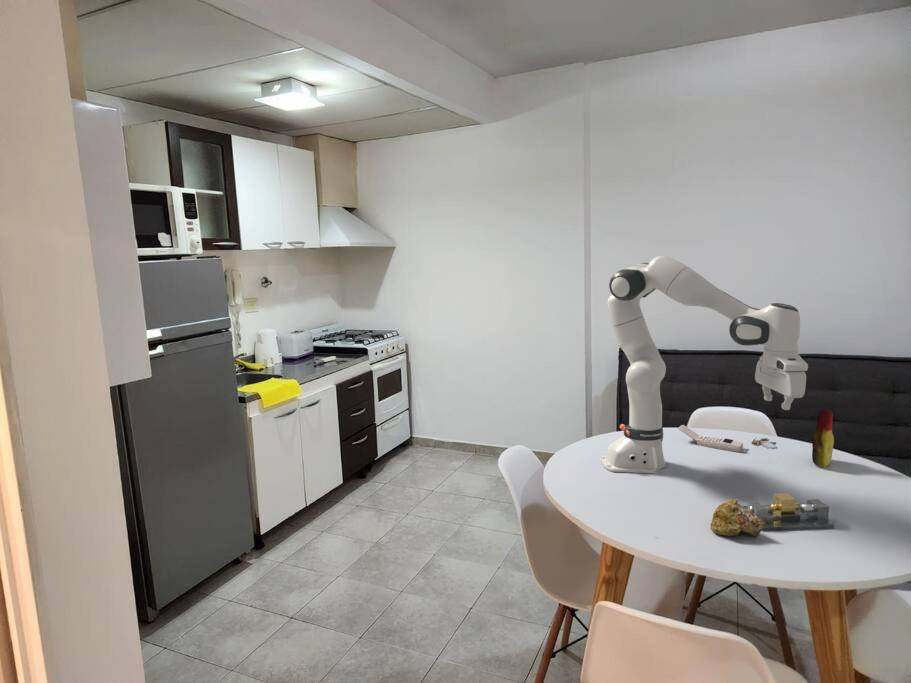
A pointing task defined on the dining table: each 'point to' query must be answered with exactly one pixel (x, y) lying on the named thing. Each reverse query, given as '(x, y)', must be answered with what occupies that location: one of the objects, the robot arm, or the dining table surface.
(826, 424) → the red yellow oblong piece
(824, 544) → the dining table surface
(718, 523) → the rock
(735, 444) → the mobile phone
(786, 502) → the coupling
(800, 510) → the dark grey baseplate
